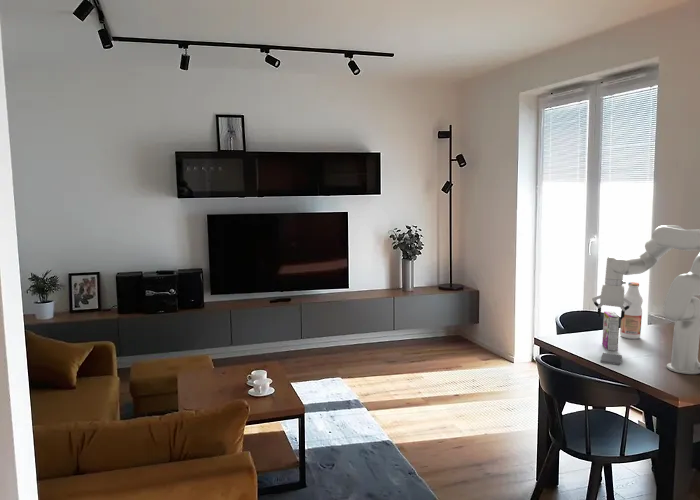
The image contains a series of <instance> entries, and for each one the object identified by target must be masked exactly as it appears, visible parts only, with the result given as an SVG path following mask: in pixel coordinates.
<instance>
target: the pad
mask: <svg viewBox="0 0 700 500" xmlns="http://www.w3.org/2000/svg"><path fill="white" fill-rule="evenodd" d="M622 358H623V355H622V354H615V353H609V352H602V354H601V357H600V363H602V364H609V365H616V366H621V364H622Z"/></svg>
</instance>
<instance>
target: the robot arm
mask: <svg viewBox="0 0 700 500" xmlns="http://www.w3.org/2000/svg"><path fill="white" fill-rule="evenodd" d="M644 248H645V252H644V253H642V254H640V255H639V256H638V257H630V258H629V257H628V258H624V257H622V256H617V255H609V256H607V258H606V267H605V278H604V279H605V280H604V283H603V284H602V288H601V292H600V295H597V296H594V297H592V302H593V305H594V306H595V307H596V308H597V310H596V311H597V313H596V314H597V315H598V317H601V315H602V306H609V307H617V308H620V309H621V311H620V312H621V313H620V321H621V320H622V318H624V314H625V311H626V310H627V309H629V307H630V306H631V305H632V302H630V301H629V300H627V299H625V298H624V296H625V286H624V285H626V283H627V281H626V280H624V279H623V278H624V276H630V275H638V274H643V273H645V272H647V271H648V270H650V269H651V268H653V267H655V266H656V265H657V263H658V262H659V261H660V259H661V257H663V256H664V255H666V254H667V253H668V252H670V251H671V250H673V249H675V250H681V251H685V252H686V251H688V252H689V251H690V252H693V251H700V228H698V229H697V228H696V229H695V228H694V229H684V228H683V227H682V226H680V225H677V224H676V225H675V224H668V225H659V226H658V227H656V228H655V229H654V230H653V232H652V233H651V239H649V240H647V241H646V242H645V244H644ZM698 296H700V252H699V253H698V254H697V255H696V256H695V258H694V260H693V262H692V266H691V268H690V270H689V272H687V273H682V274H679V275H677V276H676V277H675V278H674V279H673V280H672V282H671V283H670V286H669V289H668V292H667V293H666V298H665V300H664V303H663V313H664V314H663V315H664V316H665V317H666V318H667V319H668V320H669V321H672V322H674V326H673V334H672V335H673V337H672V345H671V346H672V347H671V349H672V350H671V360H670V362H669V363H667V364H666V368H667V369H668V370H670V371H672V372H675V373H677V374H678V373H679V374H683V375H684V374H685V375H699V374H700V362H699V347H700V298H698ZM597 300H600V302H599V303H598V302H597ZM624 301H625V302H626V303H628V305H627V306H626V307H624V306H623V304H624Z"/></svg>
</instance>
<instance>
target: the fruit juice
mask: <svg viewBox="0 0 700 500" xmlns="http://www.w3.org/2000/svg"><path fill="white" fill-rule="evenodd" d="M639 287H640V283H639V282H634V281H632V282H631V281H630V282H628V288H627V291H626V293H624V298H625V299H627V300H629V301H630V302H632V305H631V306H630V307H629V309H627V310H626V311H625V314H624V318H622V320H621V319H620V327H619V335H620V337H622V338H625V339H628V340H629V339H631V340H638V339H640V338H641V332H642V331H641V330H642V320H643V319H642V317H643V309H642V305H643V302H644V300H643V297H642V296H641V294H640V290H639ZM627 305H628V303H626V302H625V301H624V304H623V306H624V307H626V306H627Z"/></svg>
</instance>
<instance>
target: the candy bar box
mask: <svg viewBox="0 0 700 500" xmlns="http://www.w3.org/2000/svg"><path fill="white" fill-rule="evenodd" d="M620 320H621V316H619V315H618V314H616V312H615V311H604V312H603V321H602V322H603V323H602V324H603V325H602V326H603V327H602V341H601V344H602V345H603V347H604V348H605V349H606V351H611V352H612V351H613V352H615V351H616V352H617V351H619V335H620Z"/></svg>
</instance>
